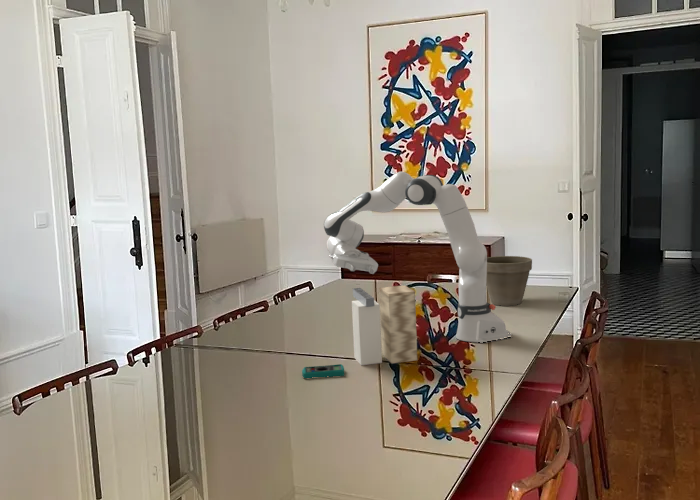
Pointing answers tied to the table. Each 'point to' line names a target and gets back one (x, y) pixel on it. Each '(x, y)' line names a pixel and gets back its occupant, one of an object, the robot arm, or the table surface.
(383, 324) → the tall stand
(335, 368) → the digital multimeter
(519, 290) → the plant pot
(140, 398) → the table surface
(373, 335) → the block
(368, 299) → the rod
